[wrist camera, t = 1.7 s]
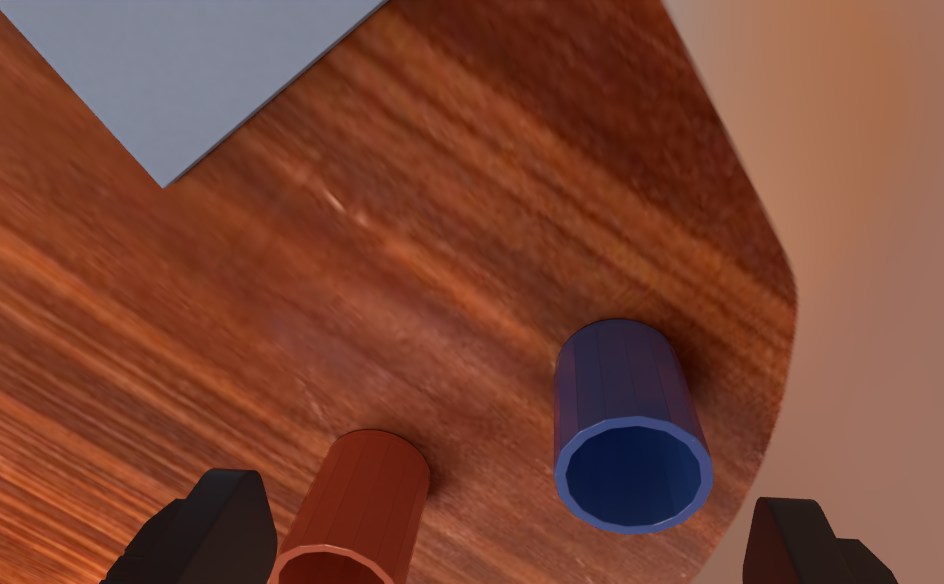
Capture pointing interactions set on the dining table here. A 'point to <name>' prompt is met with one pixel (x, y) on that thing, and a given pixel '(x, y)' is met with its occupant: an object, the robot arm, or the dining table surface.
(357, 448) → the terracotta cup
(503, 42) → the dining table surface
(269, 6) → the blue mat
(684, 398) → the blue cup
